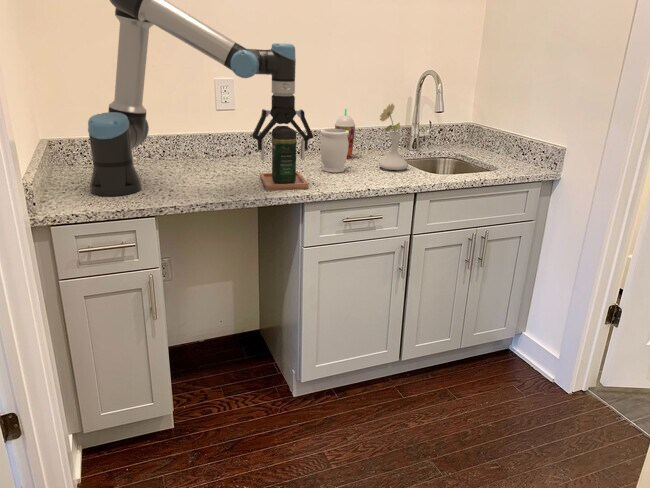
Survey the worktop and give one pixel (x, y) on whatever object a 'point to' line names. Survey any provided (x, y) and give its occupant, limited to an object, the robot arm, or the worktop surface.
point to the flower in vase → (392, 159)
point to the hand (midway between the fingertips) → (282, 159)
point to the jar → (334, 149)
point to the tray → (271, 185)
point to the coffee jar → (283, 155)
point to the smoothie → (348, 125)
